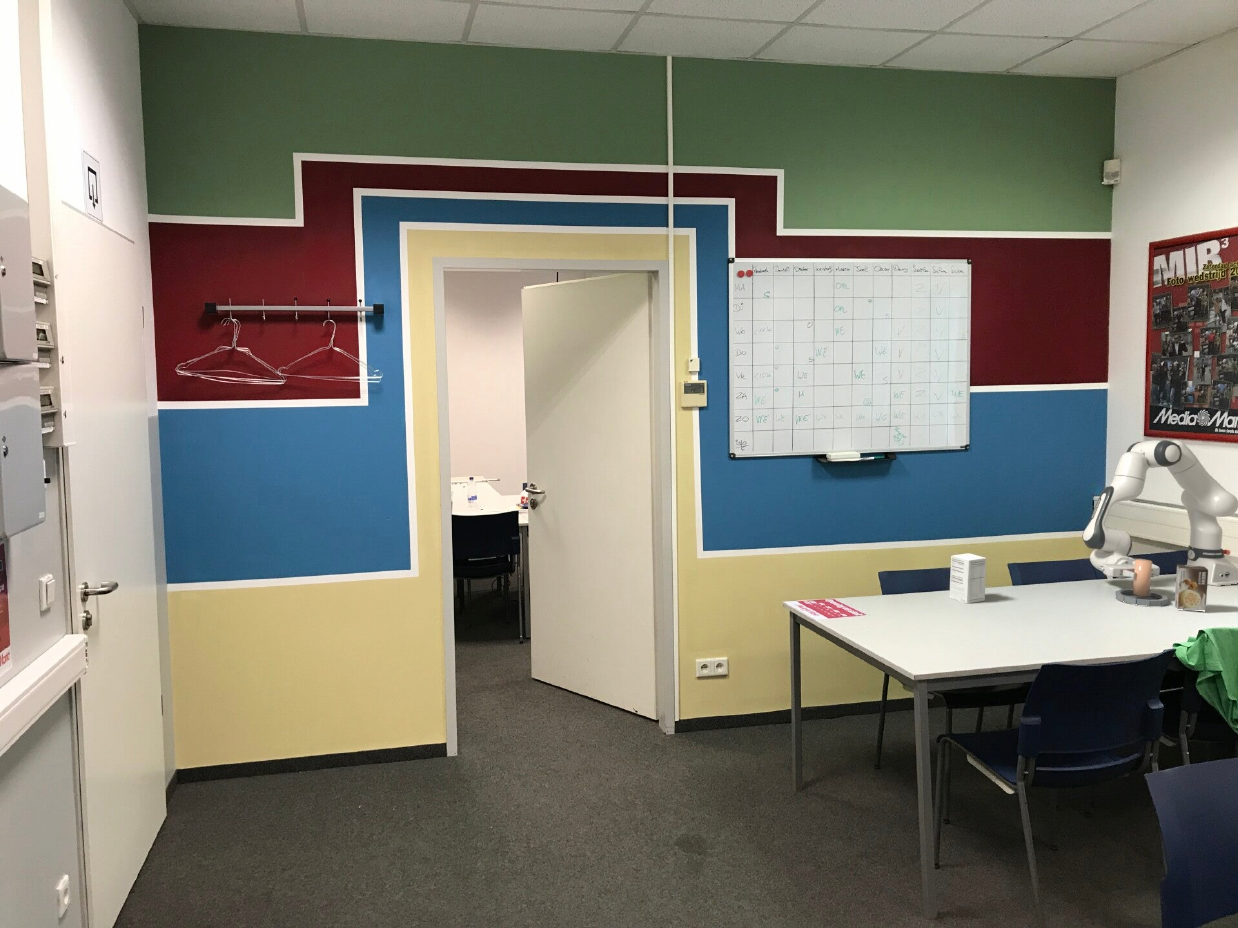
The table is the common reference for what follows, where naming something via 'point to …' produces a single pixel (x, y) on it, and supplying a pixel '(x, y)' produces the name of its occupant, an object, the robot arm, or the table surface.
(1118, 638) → the table surface
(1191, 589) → the coffee box
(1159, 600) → the tray
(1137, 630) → the table surface
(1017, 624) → the table surface
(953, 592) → the supplement box
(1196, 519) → the robot arm
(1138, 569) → the peach cylinder
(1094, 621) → the table surface
